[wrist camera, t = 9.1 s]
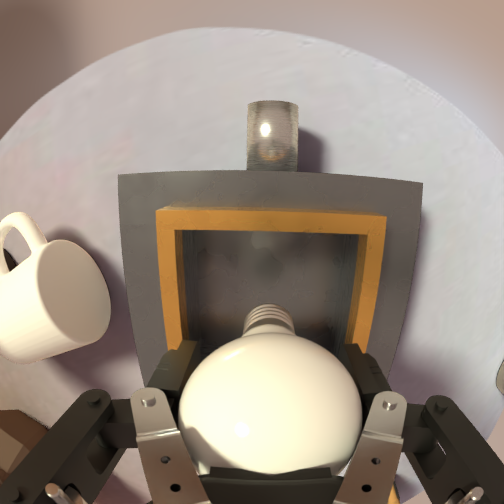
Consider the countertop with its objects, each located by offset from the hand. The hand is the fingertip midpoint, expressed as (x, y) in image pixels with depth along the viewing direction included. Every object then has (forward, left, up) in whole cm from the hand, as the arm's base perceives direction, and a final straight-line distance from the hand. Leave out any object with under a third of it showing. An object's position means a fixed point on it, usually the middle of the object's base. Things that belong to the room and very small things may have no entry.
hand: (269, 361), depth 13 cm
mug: (+19, 0, -10) cm, 21 cm away
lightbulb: (0, 0, -4) cm, 4 cm away
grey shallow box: (0, -2, -10) cm, 10 cm away
